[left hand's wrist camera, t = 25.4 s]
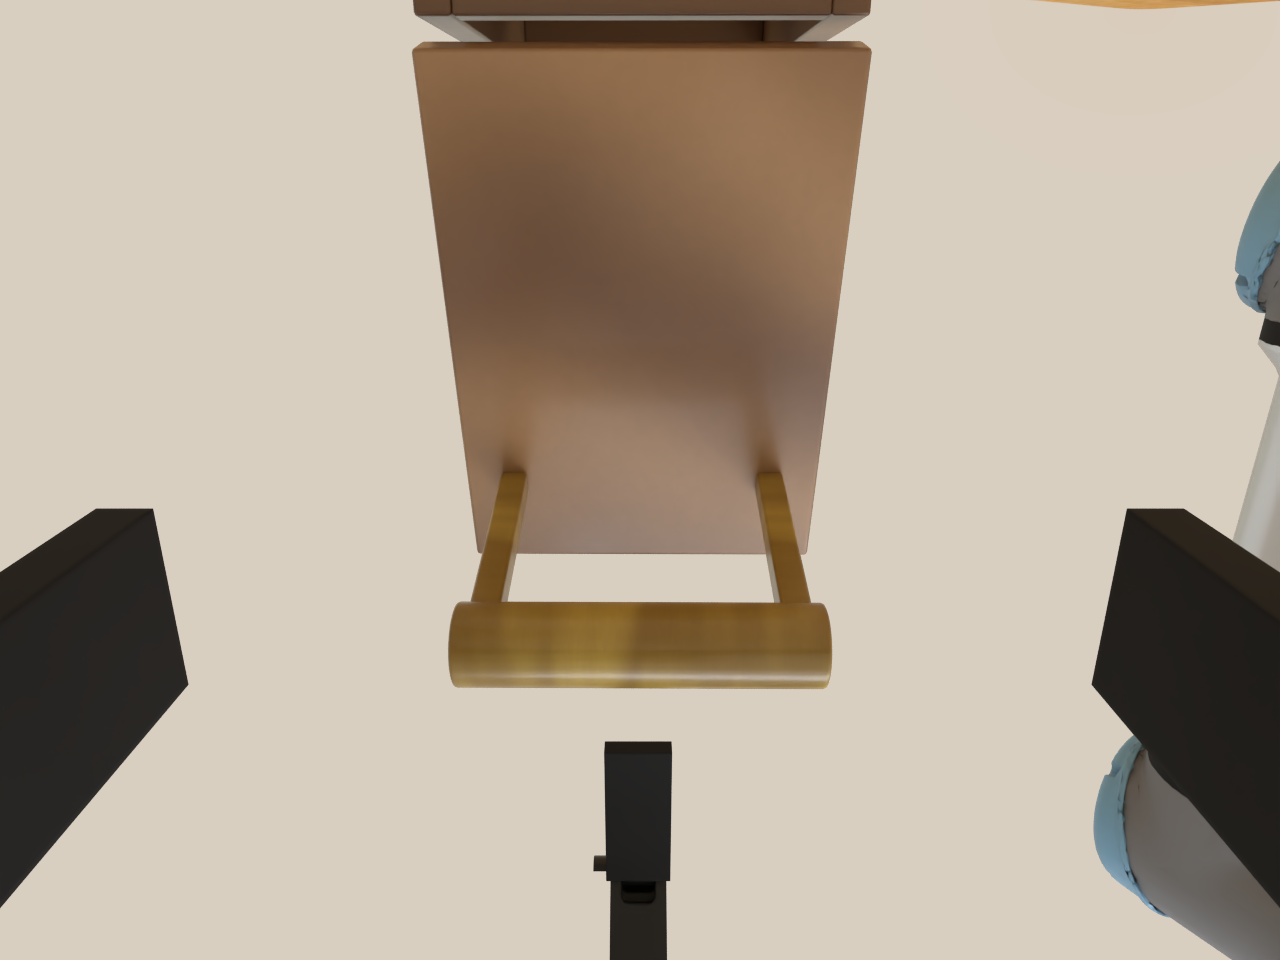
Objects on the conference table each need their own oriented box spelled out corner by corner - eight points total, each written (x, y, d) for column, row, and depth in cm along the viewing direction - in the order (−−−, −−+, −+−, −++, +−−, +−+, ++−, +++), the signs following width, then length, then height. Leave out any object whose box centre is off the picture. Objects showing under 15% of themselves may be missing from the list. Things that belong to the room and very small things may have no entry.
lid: (802, 534, 27) (854, 758, 20) (482, 533, 27) (427, 755, 20) (863, 40, 19) (978, 132, 13) (420, 40, 19) (299, 131, 13)
